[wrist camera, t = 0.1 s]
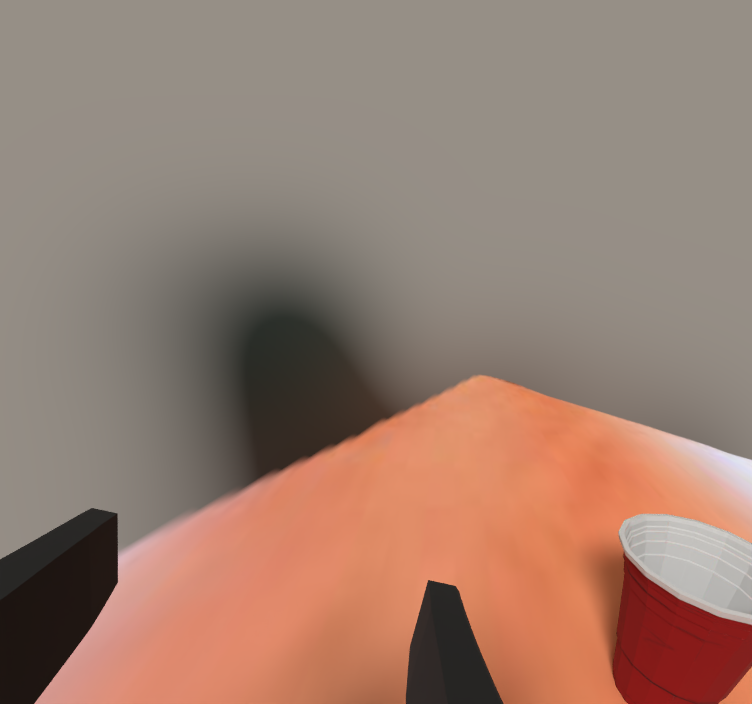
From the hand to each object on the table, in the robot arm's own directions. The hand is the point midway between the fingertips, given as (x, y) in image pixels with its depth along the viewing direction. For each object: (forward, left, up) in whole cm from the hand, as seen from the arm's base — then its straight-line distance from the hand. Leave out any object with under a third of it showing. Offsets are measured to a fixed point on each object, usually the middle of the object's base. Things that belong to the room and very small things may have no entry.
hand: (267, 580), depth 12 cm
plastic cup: (+21, -25, -22) cm, 39 cm away
